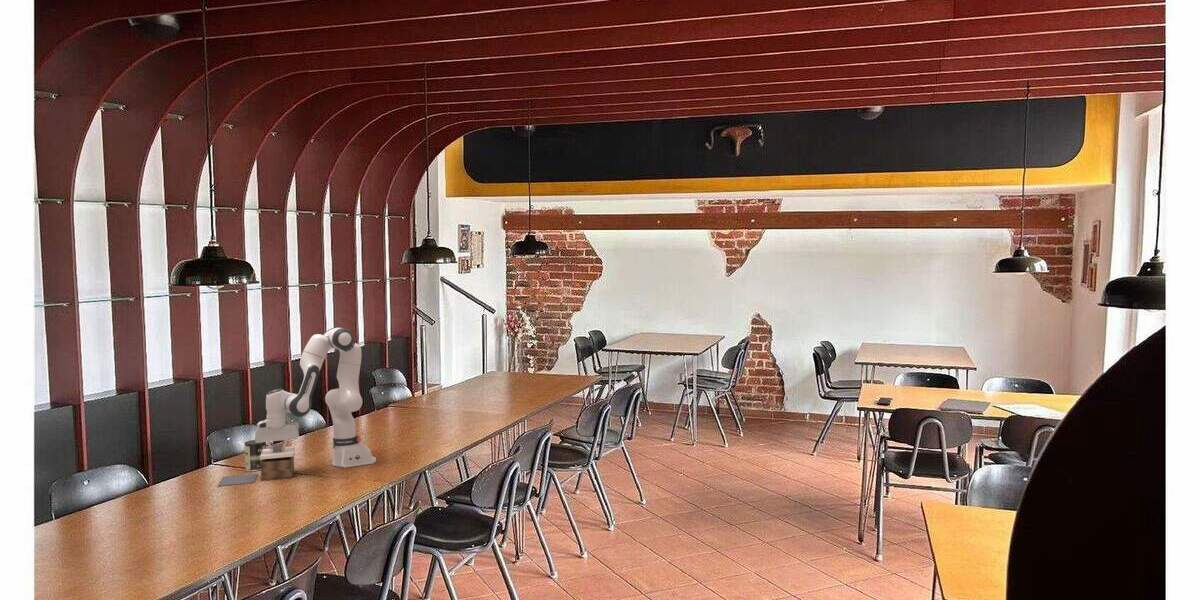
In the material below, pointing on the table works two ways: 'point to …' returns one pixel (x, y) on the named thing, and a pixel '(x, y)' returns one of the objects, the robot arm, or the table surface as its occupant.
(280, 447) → the lid
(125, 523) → the table surface
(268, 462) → the storage box
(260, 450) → the coffee can
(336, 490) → the table surface
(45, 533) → the table surface
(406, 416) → the table surface
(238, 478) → the mat
